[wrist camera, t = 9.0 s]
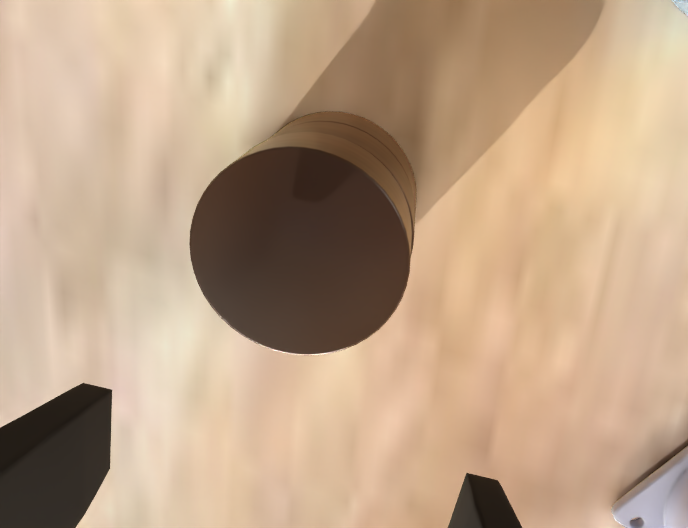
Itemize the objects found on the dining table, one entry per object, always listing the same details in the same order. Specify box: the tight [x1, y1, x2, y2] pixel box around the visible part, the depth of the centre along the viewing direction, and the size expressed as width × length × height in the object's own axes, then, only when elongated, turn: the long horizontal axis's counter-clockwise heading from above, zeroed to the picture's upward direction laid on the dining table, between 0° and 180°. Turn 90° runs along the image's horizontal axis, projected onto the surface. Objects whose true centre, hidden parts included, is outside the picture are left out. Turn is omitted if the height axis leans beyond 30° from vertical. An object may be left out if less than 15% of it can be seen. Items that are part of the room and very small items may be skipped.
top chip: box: [190, 132, 412, 355], centre depth 16 cm, size 6×6×2 cm
